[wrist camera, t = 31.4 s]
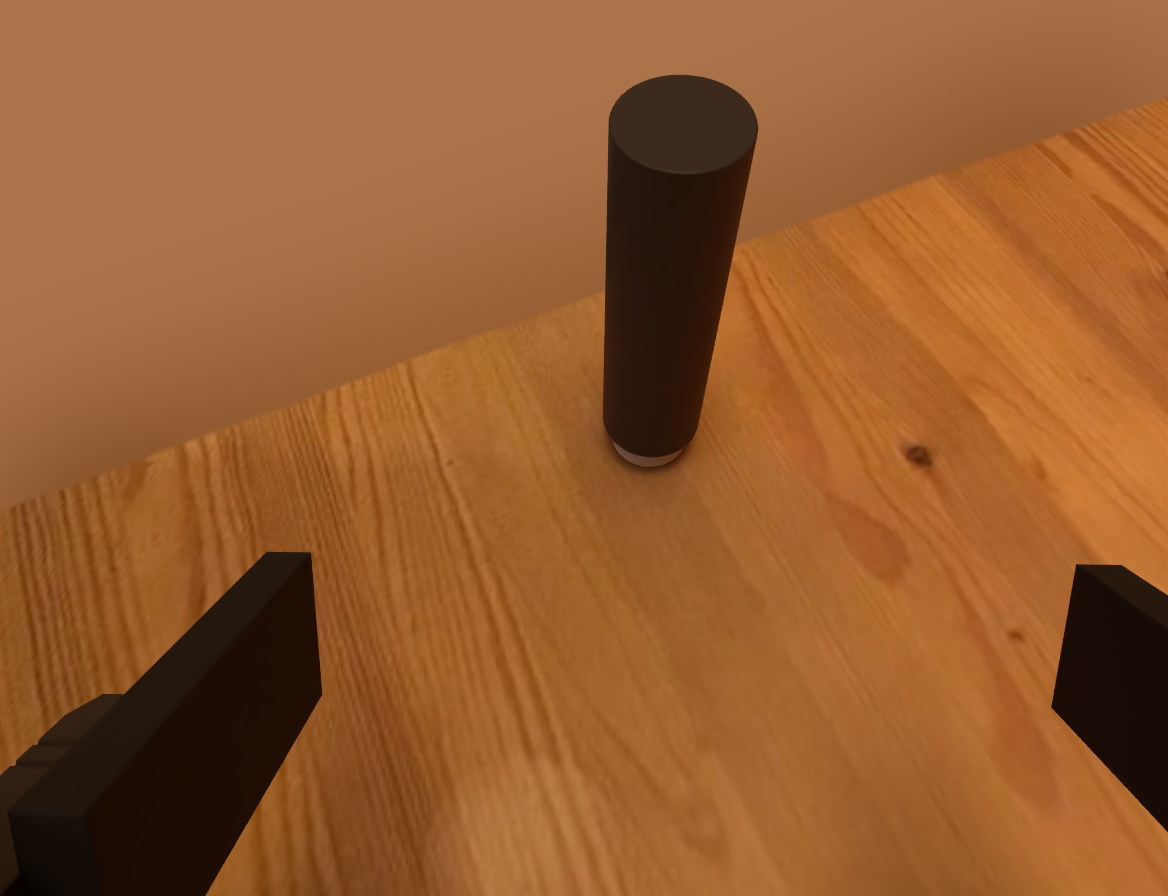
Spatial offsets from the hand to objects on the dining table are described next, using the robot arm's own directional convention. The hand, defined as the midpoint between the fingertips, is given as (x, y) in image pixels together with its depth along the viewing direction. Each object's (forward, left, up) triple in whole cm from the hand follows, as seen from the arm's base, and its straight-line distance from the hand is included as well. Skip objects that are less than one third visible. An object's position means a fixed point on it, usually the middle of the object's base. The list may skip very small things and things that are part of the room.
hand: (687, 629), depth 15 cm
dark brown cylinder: (-2, +10, -11) cm, 15 cm away
